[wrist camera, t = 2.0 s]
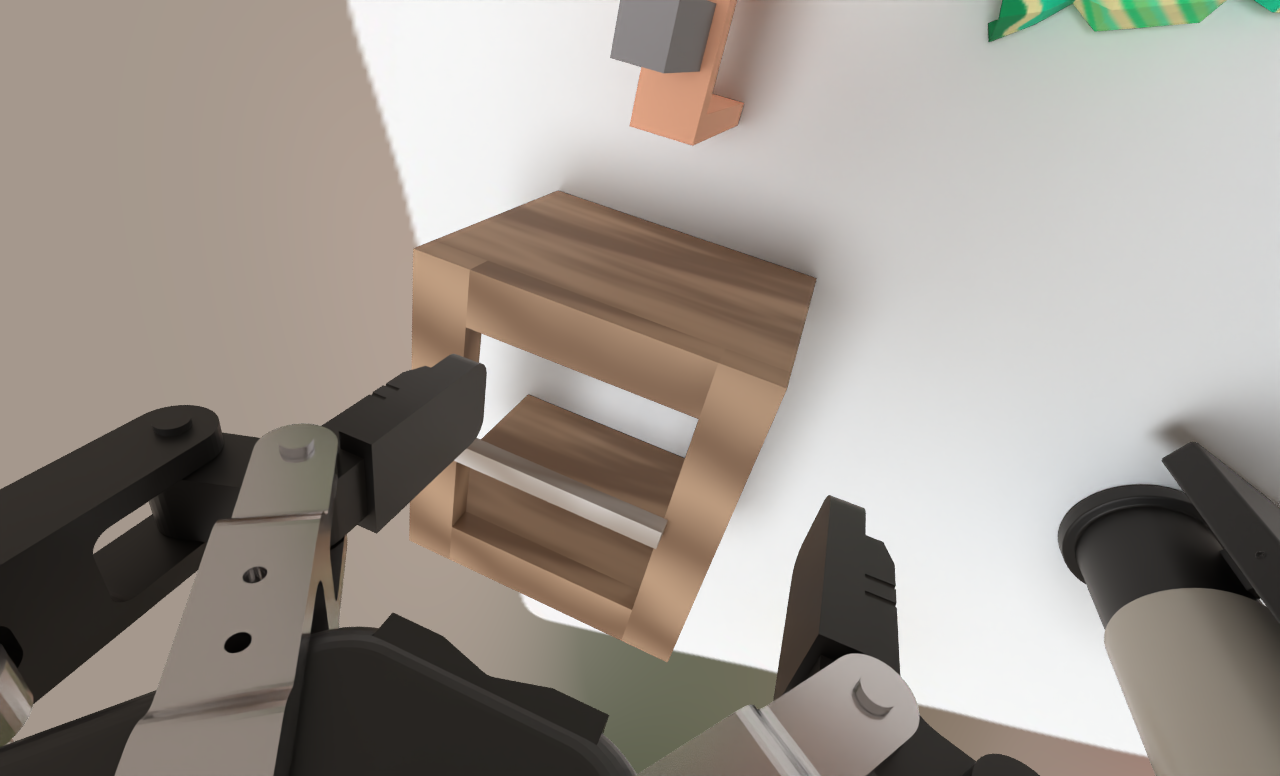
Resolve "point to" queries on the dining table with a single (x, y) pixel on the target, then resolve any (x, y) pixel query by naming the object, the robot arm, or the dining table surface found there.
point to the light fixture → (1189, 612)
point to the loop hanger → (677, 65)
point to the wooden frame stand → (583, 449)
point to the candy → (1108, 13)
